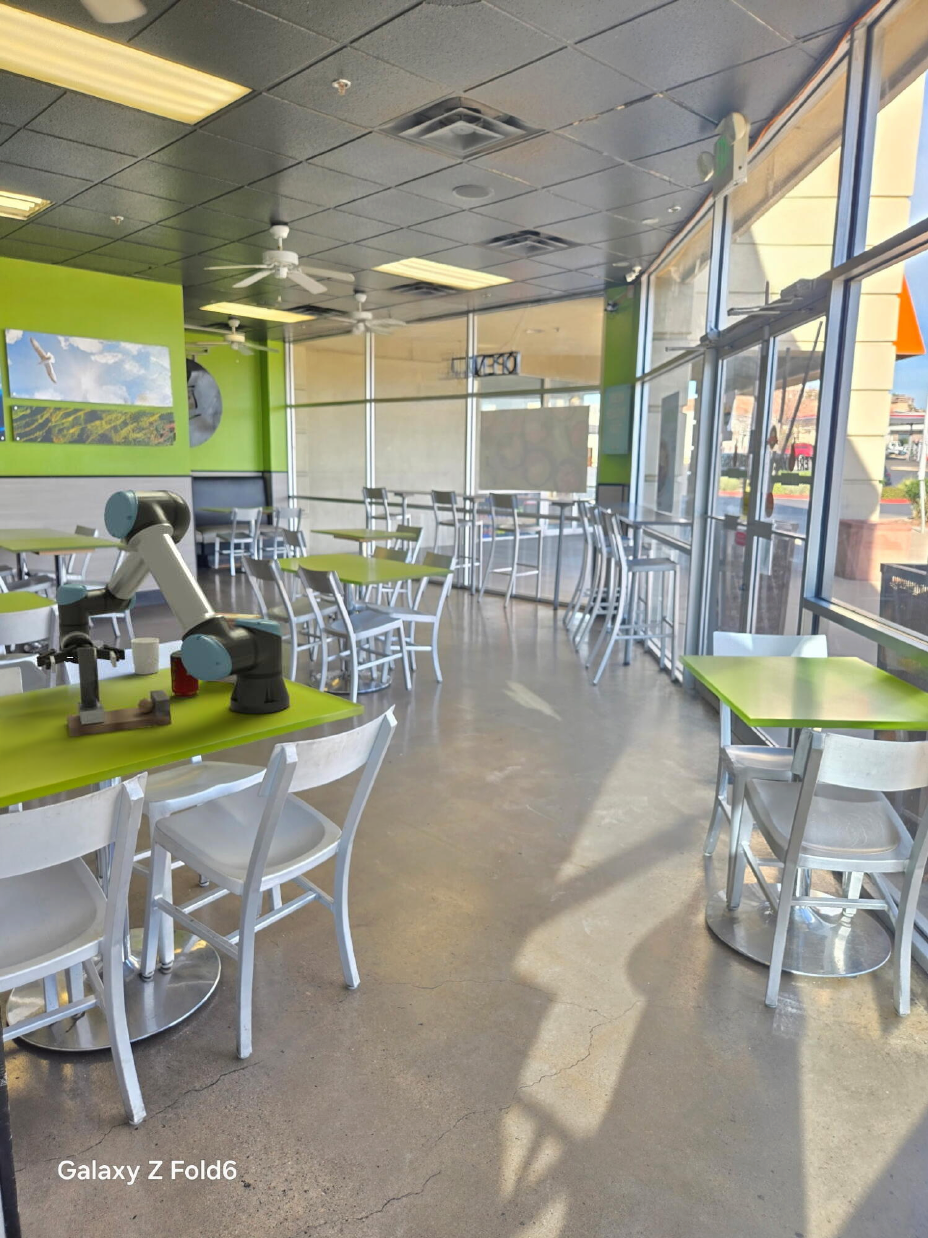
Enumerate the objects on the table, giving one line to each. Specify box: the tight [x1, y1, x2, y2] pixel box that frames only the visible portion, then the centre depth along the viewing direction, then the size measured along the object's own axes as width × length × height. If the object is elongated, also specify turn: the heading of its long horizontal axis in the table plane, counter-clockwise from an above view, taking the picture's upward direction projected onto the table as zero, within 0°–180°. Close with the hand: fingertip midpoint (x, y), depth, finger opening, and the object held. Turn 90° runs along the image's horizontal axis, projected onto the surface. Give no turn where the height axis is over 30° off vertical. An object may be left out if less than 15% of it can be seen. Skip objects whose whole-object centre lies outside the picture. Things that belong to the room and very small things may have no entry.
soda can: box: [169, 649, 200, 699], centre depth 218 cm, size 7×7×12 cm
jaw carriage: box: [77, 645, 105, 724], centre depth 188 cm, size 5×9×17 cm, turn 30°
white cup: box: [130, 637, 160, 675], centre depth 243 cm, size 8×8×10 cm
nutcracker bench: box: [66, 689, 172, 738], centre depth 192 cm, size 22×11×6 cm, turn 120°
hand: (84, 664), depth 196 cm, fingers open, 13 cm apart
